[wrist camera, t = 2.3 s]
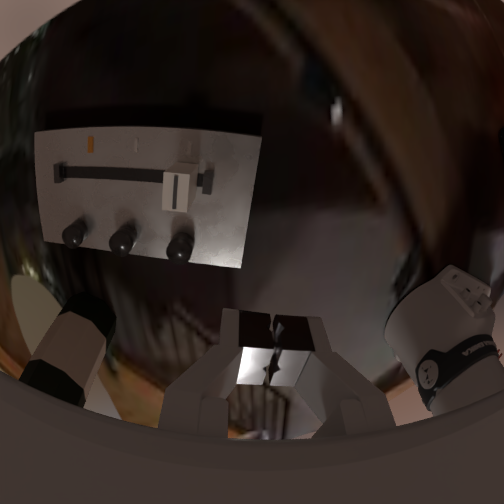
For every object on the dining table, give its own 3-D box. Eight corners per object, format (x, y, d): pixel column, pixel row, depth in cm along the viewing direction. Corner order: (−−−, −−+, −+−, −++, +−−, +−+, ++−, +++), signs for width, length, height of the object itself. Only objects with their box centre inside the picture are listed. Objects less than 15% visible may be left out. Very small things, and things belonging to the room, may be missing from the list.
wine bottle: (61, 289, 32) (-36, 467, 5) (108, 293, 32) (16, 510, 6) (80, 332, 36) (12, 496, 9) (124, 338, 36) (67, 528, 10)
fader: (198, 164, 23) (189, 174, 19) (195, 196, 24) (186, 213, 20) (176, 162, 22) (163, 172, 19) (174, 194, 24) (161, 210, 20)
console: (260, 135, 24) (263, 139, 20) (240, 258, 30) (240, 279, 26) (45, 129, 21) (23, 135, 18) (52, 233, 28) (35, 248, 24)
